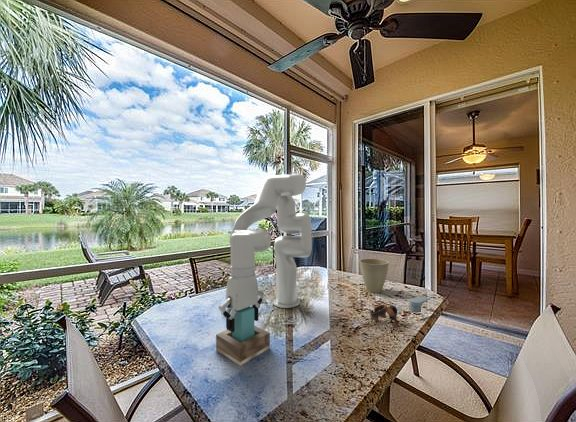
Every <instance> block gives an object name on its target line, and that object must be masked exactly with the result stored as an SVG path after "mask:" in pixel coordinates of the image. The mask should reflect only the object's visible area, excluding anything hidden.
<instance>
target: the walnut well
mask: <svg viewBox="0 0 576 422" xmlns="http://www.w3.org/2000/svg"><path fill="white" fill-rule="evenodd" d="M215 341H216V342H215V350H216V351H217V352H218V353H219V354H221V355H222V356H225V357H226V358H227V359H229V360H231V361H232V362H233V363H235V364H236V365H238V366H242V365H244V364H245V363H248V362H249V361H250V360H253V359H254V358H255V357H258V356H259V355H261V354H262V353H264V352H267V351H268V350H269V349H270V348H271V333H270V331H267V330H264V329H262V328H260V327H259V326H257V325H254V336H253V337H251V338H249V339H247V340H245V341H244V342H242V343H241V342H239V341H237V340H236V339H234V338H232V332H231V331H229V330H227V329H225V330H223V331H222V332H219V333H217V334H215Z"/></svg>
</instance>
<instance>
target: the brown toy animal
mask: <svg viewBox="0 0 576 422" xmlns="http://www.w3.org/2000/svg"><path fill="white" fill-rule="evenodd" d="M386 313H387V314H386ZM369 315H370V319H371V321H372V320H373V321H377V322H379V317H380V318H383V319H387V316H386V315H388V317H389V319H390V320H391V321H393V323H391V326H392V327H393V328H396V329H398V328H399V321H398V319H397V315H398V312H397V307H396V306H395V305H389V306H387V304H384V303H383V304H380V305H377V306H375V307H374V308H373V309H371V310H370V312H369ZM393 328H392V329H393Z"/></svg>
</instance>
